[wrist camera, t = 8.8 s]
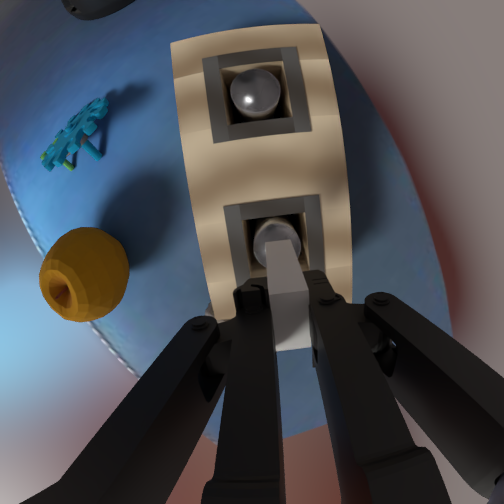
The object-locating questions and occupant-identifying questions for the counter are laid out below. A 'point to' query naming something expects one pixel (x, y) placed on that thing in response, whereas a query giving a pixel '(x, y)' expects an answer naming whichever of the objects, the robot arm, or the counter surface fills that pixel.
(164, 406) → the robot arm
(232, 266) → the socket block
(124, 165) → the counter surface
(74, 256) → the apple
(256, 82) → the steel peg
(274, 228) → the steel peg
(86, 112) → the teal knobby branched piece
